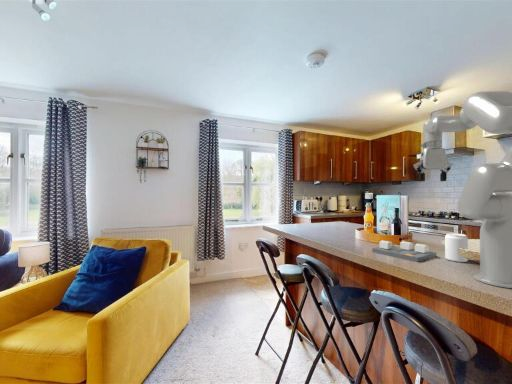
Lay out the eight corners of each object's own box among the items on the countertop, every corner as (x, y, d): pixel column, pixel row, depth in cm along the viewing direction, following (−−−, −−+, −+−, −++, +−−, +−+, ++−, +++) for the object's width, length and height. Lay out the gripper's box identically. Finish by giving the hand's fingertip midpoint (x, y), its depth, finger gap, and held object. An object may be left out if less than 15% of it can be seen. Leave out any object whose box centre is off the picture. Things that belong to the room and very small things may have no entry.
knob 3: (428, 251, 118) (428, 244, 118) (424, 253, 116) (424, 245, 116) (418, 250, 122) (418, 243, 122) (414, 251, 120) (414, 243, 120)
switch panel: (436, 256, 118) (436, 251, 118) (417, 262, 109) (417, 257, 109) (391, 247, 137) (391, 243, 137) (372, 252, 128) (372, 247, 128)
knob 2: (413, 249, 124) (413, 242, 124) (409, 250, 122) (409, 243, 122) (404, 247, 128) (404, 240, 128) (400, 248, 126) (400, 241, 126)
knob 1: (391, 248, 126) (391, 241, 126) (387, 249, 124) (387, 242, 124) (383, 246, 130) (383, 239, 130) (379, 247, 128) (379, 240, 128)
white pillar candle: (459, 263, 106) (459, 236, 106) (440, 258, 114) (440, 233, 114) (472, 262, 109) (472, 235, 109) (453, 257, 116) (453, 232, 116)
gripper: (418, 145, 115) (418, 181, 115) (457, 144, 113) (457, 180, 113) (409, 148, 122) (409, 181, 122) (446, 147, 121) (446, 181, 121)
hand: (432, 181), depth 118 cm, fingers open, 9 cm apart
